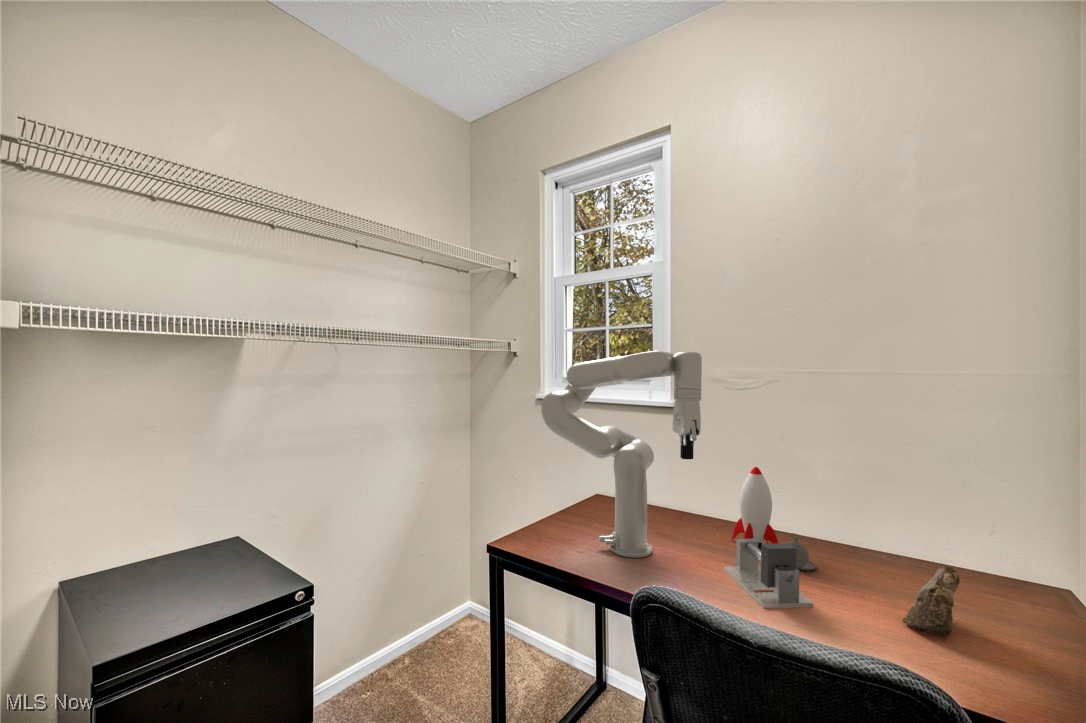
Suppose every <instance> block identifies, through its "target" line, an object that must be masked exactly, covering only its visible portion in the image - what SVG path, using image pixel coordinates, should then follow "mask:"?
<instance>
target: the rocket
mask: <svg viewBox="0 0 1086 723" xmlns="http://www.w3.org/2000/svg"><path fill="white" fill-rule="evenodd" d="M766 480H767V479H765V477H764V474H763V473H762V472H761V470H760V468H759V467H757V466H754V467H752V469H751V471H750V472H749V474H748V475H747V477H746V478H745V480H744V482H743V485H742V487H741V490H740V493H739V494H740V495H739V510H740V511H739V512H740V516H741V517H740V518H739V519H738V520H737V521H736V523H735V526H734V529H733V532H732V535H731V536H732V537H731V541H733V540H734V539H735V538H737V536H738V535H739V534H740V533H744V537H743V539H755V540H757V541H758V549H761V544H763V543H764V542H765V541H766V544H769V543H770V544H779V541H778V537H777V534H776V532H775V530H774V528H773V527H772V525H771V524H770V523H771V518H772V511H773V510H772V509H773V499H772V494H771V491H770V490H771V489H770V487H769V484H768V482H767V481H766ZM768 542H769V543H768Z"/></svg>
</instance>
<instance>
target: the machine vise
mask: <svg viewBox="0 0 1086 723" xmlns="http://www.w3.org/2000/svg"><path fill="white" fill-rule="evenodd" d="M735 559H736V560H735V561H736V562H735V563H736V565H735V566H724V567H723V571H724V572H725V573H726V574H727V575H728V576H729V577H730V578H731V579H732V580H734V582H736V584H738V586H740V587H741V588H742V589H743V590H744V591H745V592H746V593H747V594H748V595H749V596H750V597H751V598H752V599H753V600H754V601H755V602H756V603H757V604H758V605H759V606H761V607H762V608H763V609H788V608H789V609H790V608H791V609H793V608H794V609H795V608H814V602H813V601H812V600H811V599H809V598H808V597H806V595H804V594H803V593H801V591H800V569H797V568H795V567H783V566H782V565H776V567H774V587H773V588H768V587H766V586H765V585H764V584H763V583H762V582H761V565H759V562H760V563H761V548H758V541H757V540H755V539H744V538H737V539H736V558H735Z"/></svg>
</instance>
